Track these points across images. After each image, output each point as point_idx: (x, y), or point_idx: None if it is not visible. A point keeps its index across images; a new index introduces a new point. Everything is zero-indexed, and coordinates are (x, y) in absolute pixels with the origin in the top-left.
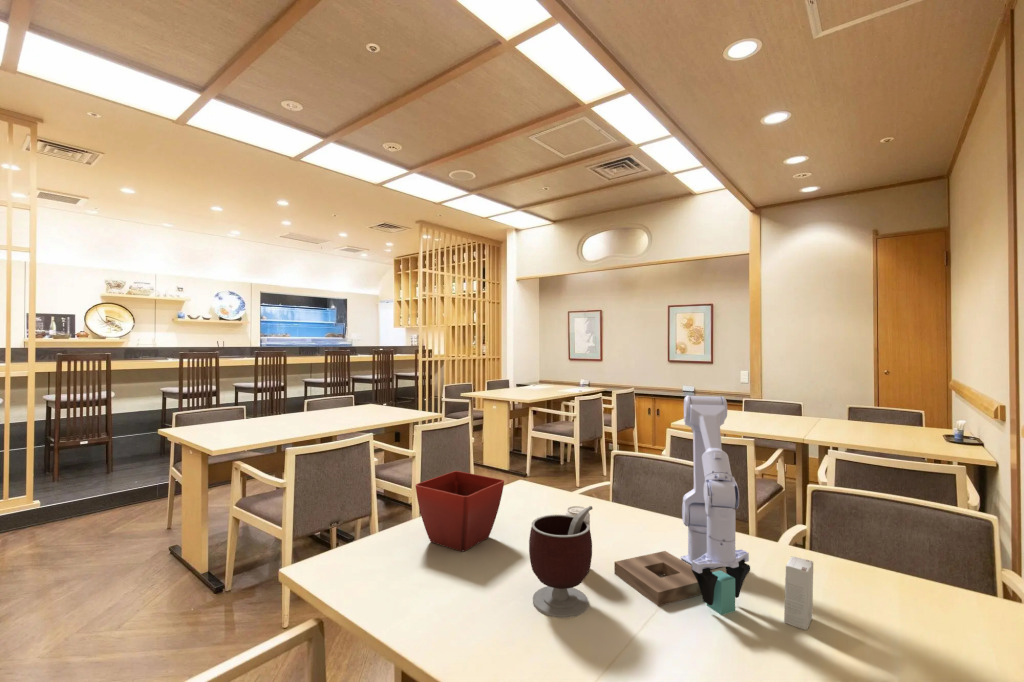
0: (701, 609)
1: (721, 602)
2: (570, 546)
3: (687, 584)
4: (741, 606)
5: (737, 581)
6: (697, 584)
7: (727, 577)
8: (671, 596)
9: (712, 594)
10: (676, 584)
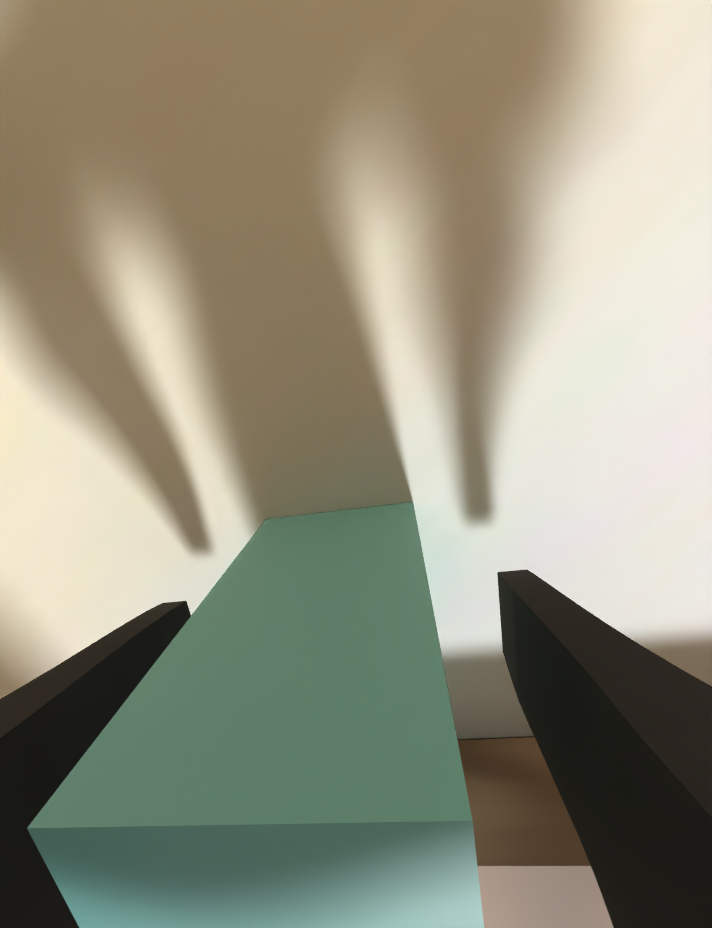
0: None
1: (421, 553)
2: None
3: (531, 870)
4: (180, 555)
5: (38, 755)
6: None
7: (177, 900)
8: None
9: (587, 635)
10: None
